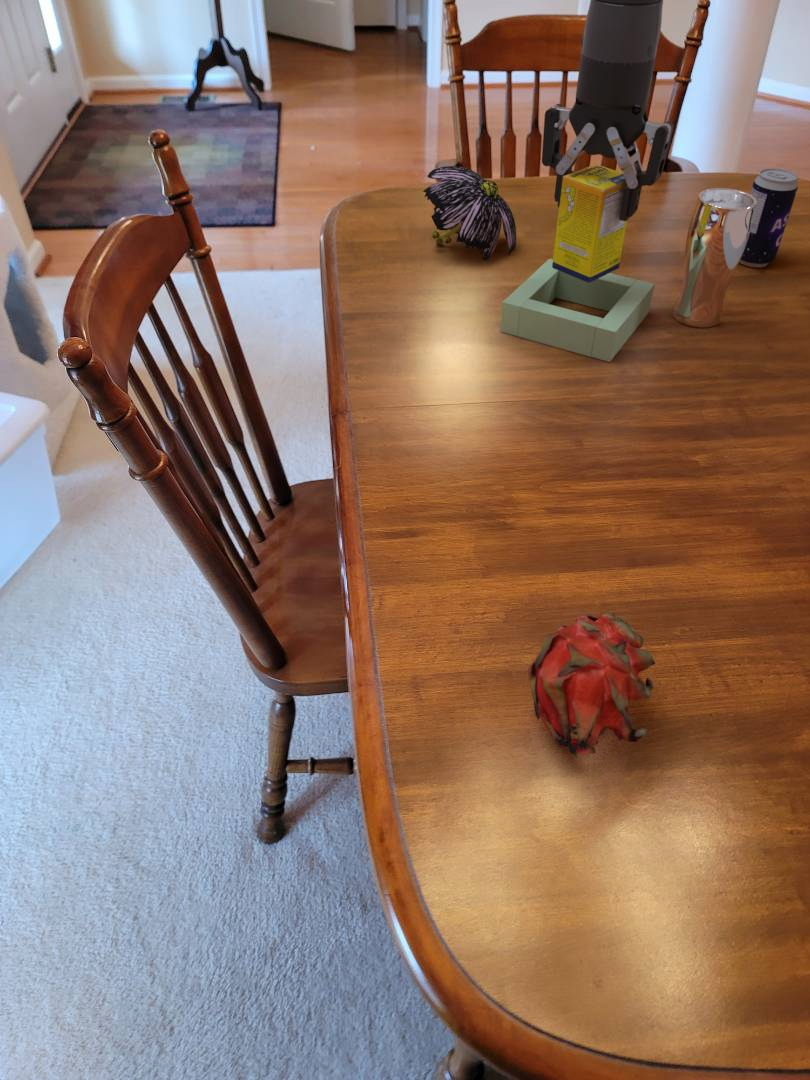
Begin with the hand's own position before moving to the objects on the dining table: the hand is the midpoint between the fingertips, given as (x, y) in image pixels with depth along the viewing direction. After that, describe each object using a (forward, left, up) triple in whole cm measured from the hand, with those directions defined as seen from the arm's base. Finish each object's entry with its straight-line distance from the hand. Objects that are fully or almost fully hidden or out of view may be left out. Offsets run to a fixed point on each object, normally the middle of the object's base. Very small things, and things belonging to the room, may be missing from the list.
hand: (593, 211), depth 96 cm
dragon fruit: (-23, +56, -14) cm, 62 cm away
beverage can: (-15, -30, -14) cm, 36 cm away
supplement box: (0, 0, -7) cm, 7 cm away
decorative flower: (+22, -13, -14) cm, 29 cm away
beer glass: (-13, -9, -14) cm, 21 cm away
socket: (0, 0, -14) cm, 14 cm away
